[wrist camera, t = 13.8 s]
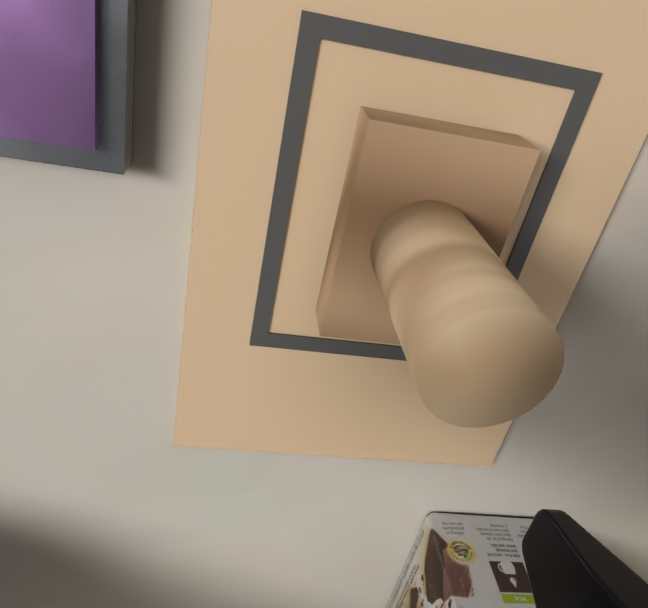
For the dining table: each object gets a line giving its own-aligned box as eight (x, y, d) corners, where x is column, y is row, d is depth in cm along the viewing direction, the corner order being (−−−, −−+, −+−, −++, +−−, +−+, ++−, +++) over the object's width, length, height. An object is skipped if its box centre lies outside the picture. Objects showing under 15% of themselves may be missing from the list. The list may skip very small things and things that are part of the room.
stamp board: (488, 461, 26) (491, 468, 26) (174, 440, 24) (173, 447, 23) (760, -123, 16) (772, -125, 15) (237, -279, 13) (236, -286, 13)
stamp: (445, 316, 22) (535, 490, 15) (313, 301, 21) (343, 479, 14) (511, 129, 18) (671, 241, 11) (357, 101, 17) (426, 202, 10)
